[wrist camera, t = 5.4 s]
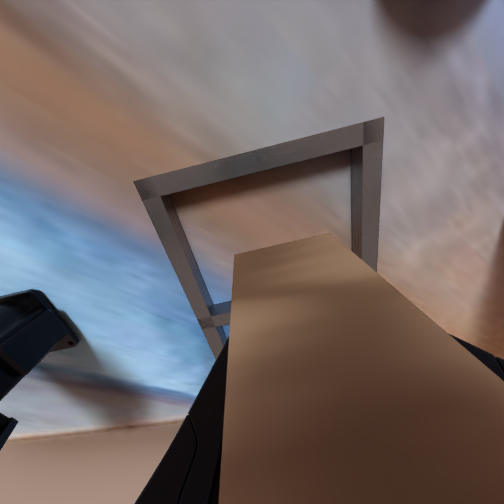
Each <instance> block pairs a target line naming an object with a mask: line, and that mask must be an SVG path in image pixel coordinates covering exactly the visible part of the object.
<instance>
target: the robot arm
mask: <svg viewBox="0 0 504 504" xmlns="http://www.w3.org/2000/svg"><path fill="white" fill-rule="evenodd" d="M449 335H450V336H451V337H453V338H454V339H455V340H456V341H457V342H458V343H460V344H461V345H462V346H463V347H464V348H465V349H467V350H468V351H469V352H470V353H471V354H472V355H474V356H475V357H476V358H477V359H478V360H479V361H481V362H482V363H483V364H484V365H485V366H486V367H488V368H489V369H490V370H491V371H492V372H493V373H495V374H496V375H497V376H498V377H499V378H501V379H502V380H503V381H504V360H503V359H501V358H499V357H495V356H494V355H493V354H491V353H488V352H486V351H484V350H482V349H480V348H478V347H476V346H474V345H472V344H469V343H467V342H465V341H463V340H461V339H459V338H457V337H455V336H453V335H451V334H449ZM79 342H80V340H79V338H78V337H77V336H76V335H75V334H74V332H73V331H72V330H71V329H70V328H69V327H68V325H67V324H66V323H65V322H64V321H63V320H62V318H61V317H60V316H59V315H58V314H57V312H56V311H55V310H54V309H53V308H52V307H51V305H50V304H49V303H48V302H47V301H46V300H45V298H44V297H43V296H42V295H41V294H40V293H39V292H38V291H36V290H33V289H30V290H26V291H21V292H17V293H13V294H9V295H4V296H0V401H1V400H2V399H3V398H4V397H5V396H6V395H7V394H8V393H9V392H10V391H11V390H12V389H13V388H14V387H15V386H16V385H17V384H18V382H19V381H20V380H21V379H22V378H23V377H24V376H25V375H27V374H28V373H29V372H30V371H31V370H32V369H33V368H34V367H35V366H36V365H37V364H38V363H39V362H40V361H41V360H42V359H43V358H44V357H45V356H46V355H47V354H48V353H49V352H52V351H57V350H61V349H66V348H71V347H75V346H76V345H77V344H78V343H79ZM228 349H229V337H228V339H227V341H226V343H225V345H224V346H223V348H222V350H221V352H220V354H219V356H218V358H217V360H216V361H215V363H214V365H213V367H212V369H211V371H210V373H209V375H208V377H207V378H206V380H205V382H204V384H203V386H202V388H201V390H200V392H199V393H198V395H197V397H196V399H195V401H194V403H193V405H192V407H191V408H190V410H189V412H188V414H189V415H187V416H186V418H185V420H184V421H183V423H182V425H181V427H180V429H179V431H178V433H177V434H176V436H175V438H174V440H173V442H172V443H171V445H170V447H169V449H168V450H167V452H166V454H165V455H164V457H163V459H162V460H161V462H160V464H159V465H158V467H157V469H156V470H155V472H154V473H153V475H152V477H151V478H150V480H149V481H148V483H147V485H146V486H145V488H144V489H143V491H142V493H141V494H140V496H139V497H138V499H137V500H136V503H135V504H219V489H220V473H221V458H222V442H223V426H224V411H225V395H226V380H227V364H228ZM17 423H18V421H17V420H16V419H14V418H12V417H11V418H8V417H7V416H5V415H3V414H2V413H0V450H1V448H2V447H3V445H4V444H5V442H6V441H7V439H8V437H9V436H10V434H11V433H12V431H13V429H14V428H15V426H16V425H17Z"/></svg>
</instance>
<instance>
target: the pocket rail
mask: <svg viewBox="0 0 504 504" xmlns="http://www.w3.org/2000/svg"><path fill="white" fill-rule="evenodd" d="M383 134H384V117H382V118H378V119H375V120H371V121H367V122H363V123H359V124H355V125H351V126H347V127H343V128H339V129H336V130H332V131H328V132H324V133H320V134H316V135H312V136H308V137H304V138H301V139H297V140H293V141H289V142H285V143H281V144H277V145H273V146H269V147H265V148H262V149H258V150H254V151H250V152H246V153H242V154H238V155H234V156H230V157H227V158H223V159H219V160H215V161H211V162H207V163H203V164H199V165H195V166H192V167H188V168H184V169H180V170H176V171H172V172H168V173H164V174H160V175H156V176H153V177H149V178H145V179H141V180H137V181H133V182H134V184H135V186H136V188H137V190H138V193H139V195H140V197H141V199H142V201H143V203H144V206H145V208H146V210H147V212H148V214H149V216H150V218H151V221H152V223H153V225H154V227H155V229H156V231H157V234H158V236H159V238H160V240H161V242H162V244H163V246H164V249H165V251H166V253H167V255H168V257H169V259H170V262H171V264H172V266H173V268H174V270H175V272H176V274H177V277H178V279H179V281H180V283H181V285H182V287H183V290H184V292H185V294H186V296H187V298H188V300H189V302H190V305H191V307H192V309H193V311H194V313H195V315H196V318H197V320H198V322H199V324H200V326H201V328H202V330H203V333H204V335H205V337H206V339H207V341H208V343H209V346H210V348H211V350H212V352H213V354H214V356H215V358H216V360H217V358H218V356H219V354H220V352H221V350H222V348H223V346H224V345H225V343H226V341H227V338H226V336H225V333H224V331H223V328H222V326H221V325H226V324H230V317H231V302H232V301H229V302H224V303H220V304H215V305H213V303H212V301H211V298H210V296H209V293H208V291H207V288H206V286H205V283H204V281H203V278H202V276H201V273H200V271H199V268H198V266H197V263H196V261H195V259H194V256H193V254H192V251H191V249H190V246H189V244H188V241H187V239H186V236H185V234H184V231H183V229H182V226H181V224H180V221H179V219H178V216H177V214H176V211H175V209H174V206H173V204H172V201H171V199H170V196H169V194H171V193H175V192H179V191H183V190H187V189H191V188H195V187H199V186H203V185H207V184H211V183H215V182H219V181H223V180H227V179H231V178H235V177H239V176H243V175H247V174H251V173H255V172H259V171H263V170H267V169H271V168H275V167H279V166H283V165H287V164H291V163H295V162H299V161H303V160H307V159H311V158H315V157H319V156H323V155H327V154H331V153H335V152H339V151H343V150H347V149H351V203H352V252H353V253H354V254H356V255H357V256H358V257H359V258H360V259H361V260H363V261H364V262H365V263H366V264H367V265H368V266H370V267H371V268H372V269H373V270H374V271H375V272H377V258H378V238H379V217H380V196H381V176H382V155H383Z"/></svg>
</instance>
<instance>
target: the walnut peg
mask: <svg viewBox="0 0 504 504" xmlns="http://www.w3.org/2000/svg"><path fill="white" fill-rule="evenodd" d="M219 504H504V381H503V380H502V379H501V378H499V377H498V376H497V375H496V374H495V373H493V372H492V371H491V370H490V369H489V368H488V367H486V366H485V365H484V364H483V363H482V362H481V361H479V360H478V359H477V358H476V357H475V356H474V355H472V354H471V353H470V352H469V351H468V350H467V349H465V348H464V347H463V346H462V345H461V344H460V343H458V342H457V341H456V340H455V339H454V338H453V337H451V336H450V335H449V334H448V333H447V332H446V331H444V330H443V329H442V328H441V327H440V326H439V325H437V324H436V323H435V322H434V321H433V320H432V319H430V318H429V317H428V316H427V315H426V314H425V313H423V312H422V311H421V310H420V309H419V308H418V307H416V306H415V305H414V304H413V303H412V302H410V301H409V300H408V299H407V298H406V297H405V296H403V295H402V294H401V293H400V292H399V291H398V290H396V289H395V288H394V287H393V286H392V285H391V284H389V283H388V282H387V281H386V280H385V279H384V278H382V277H381V276H380V275H379V274H378V273H377V272H375V271H374V270H373V269H372V268H371V267H370V266H368V265H367V264H366V263H365V262H364V261H363V260H361V259H360V258H359V257H358V256H357V255H356V254H354V253H353V252H352V251H351V250H350V249H349V248H347V247H346V246H345V245H344V244H343V243H342V242H340V241H339V240H338V239H337V238H336V237H335V236H333V235H332V234H331V233H327V234H323V235H318V236H314V237H310V238H305V239H301V240H297V241H292V242H288V243H284V244H279V245H275V246H270V247H266V248H262V249H257V250H253V251H249V252H244V253H240V254H236V255H234V271H233V286H232V302H231V317H230V333H229V349H228V364H227V380H226V395H225V411H224V426H223V442H222V458H221V473H220V489H219Z"/></svg>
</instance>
